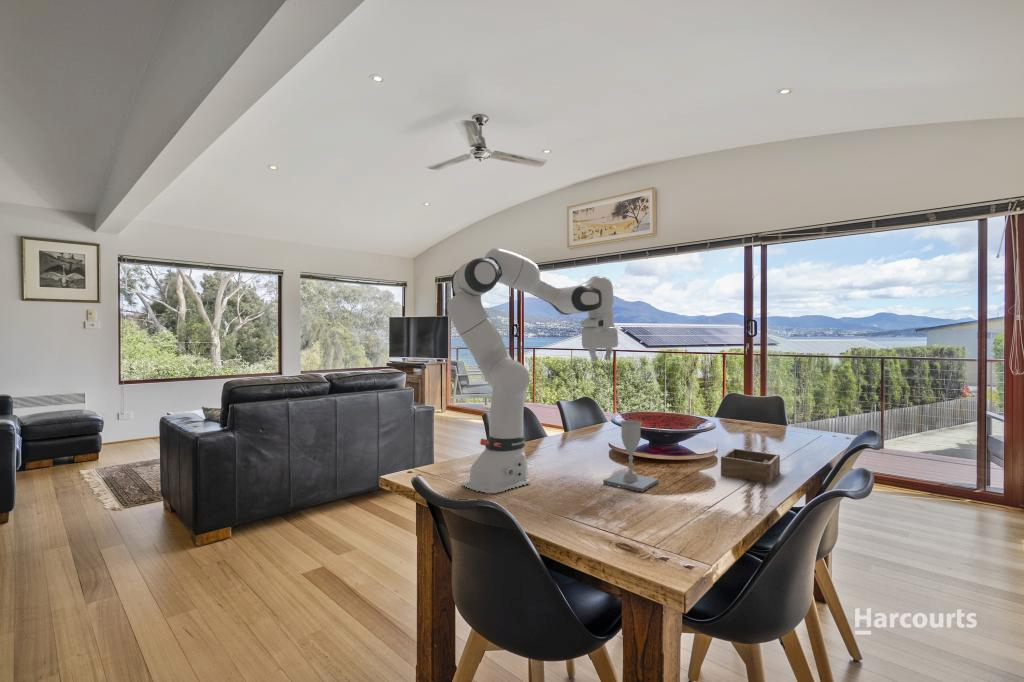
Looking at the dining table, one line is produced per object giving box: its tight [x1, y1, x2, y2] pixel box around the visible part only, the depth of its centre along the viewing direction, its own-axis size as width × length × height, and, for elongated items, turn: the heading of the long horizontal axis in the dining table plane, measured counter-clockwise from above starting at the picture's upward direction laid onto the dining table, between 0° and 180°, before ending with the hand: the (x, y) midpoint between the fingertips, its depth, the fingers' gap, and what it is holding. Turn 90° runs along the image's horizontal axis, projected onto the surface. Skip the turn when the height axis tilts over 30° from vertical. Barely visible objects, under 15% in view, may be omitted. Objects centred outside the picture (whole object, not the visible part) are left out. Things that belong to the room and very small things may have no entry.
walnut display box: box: [720, 448, 781, 484], centre depth 162 cm, size 15×15×6 cm
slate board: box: [602, 470, 660, 493], centre depth 152 cm, size 12×13×1 cm
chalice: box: [619, 419, 643, 482], centre depth 152 cm, size 7×7×18 cm
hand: (600, 360), depth 174 cm, fingers open, 8 cm apart
